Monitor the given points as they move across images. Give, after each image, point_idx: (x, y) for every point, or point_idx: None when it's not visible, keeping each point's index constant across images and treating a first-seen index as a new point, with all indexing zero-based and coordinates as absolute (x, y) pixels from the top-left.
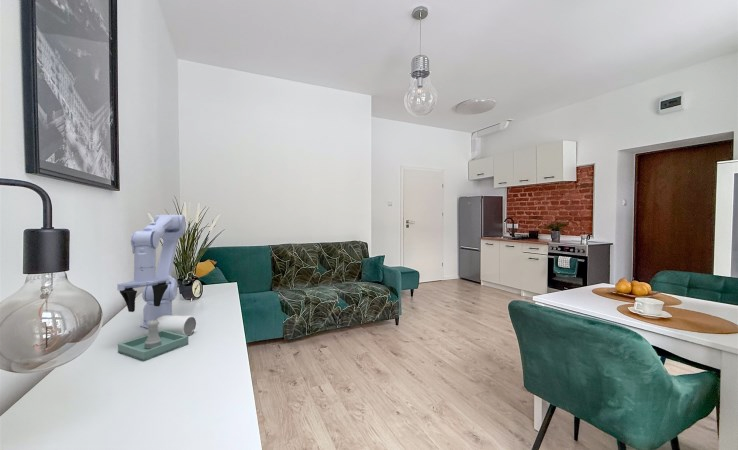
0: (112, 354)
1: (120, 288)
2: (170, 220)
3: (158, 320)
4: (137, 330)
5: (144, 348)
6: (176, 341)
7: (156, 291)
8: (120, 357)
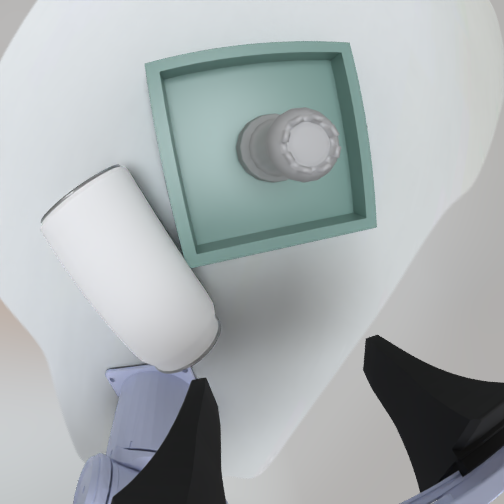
0: None
1: None
2: None
3: (196, 327)
4: (232, 399)
5: None
6: (207, 51)
7: (213, 493)
8: None
